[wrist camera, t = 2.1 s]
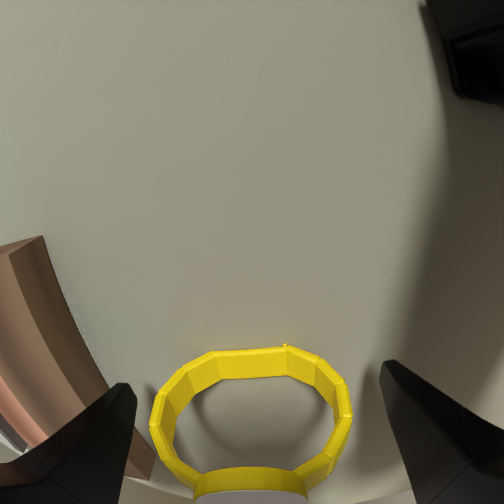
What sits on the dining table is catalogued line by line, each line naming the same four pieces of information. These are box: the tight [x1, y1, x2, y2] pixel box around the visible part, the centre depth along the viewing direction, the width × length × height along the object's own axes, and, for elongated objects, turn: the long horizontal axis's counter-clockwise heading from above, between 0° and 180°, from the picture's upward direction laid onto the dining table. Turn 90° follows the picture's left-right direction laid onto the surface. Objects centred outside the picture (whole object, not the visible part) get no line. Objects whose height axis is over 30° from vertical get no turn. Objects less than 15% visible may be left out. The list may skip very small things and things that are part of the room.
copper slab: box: [0, 235, 156, 481], centre depth 10 cm, size 12×14×3 cm
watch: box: [149, 344, 353, 504], centre depth 8 cm, size 6×3×6 cm, turn 97°
